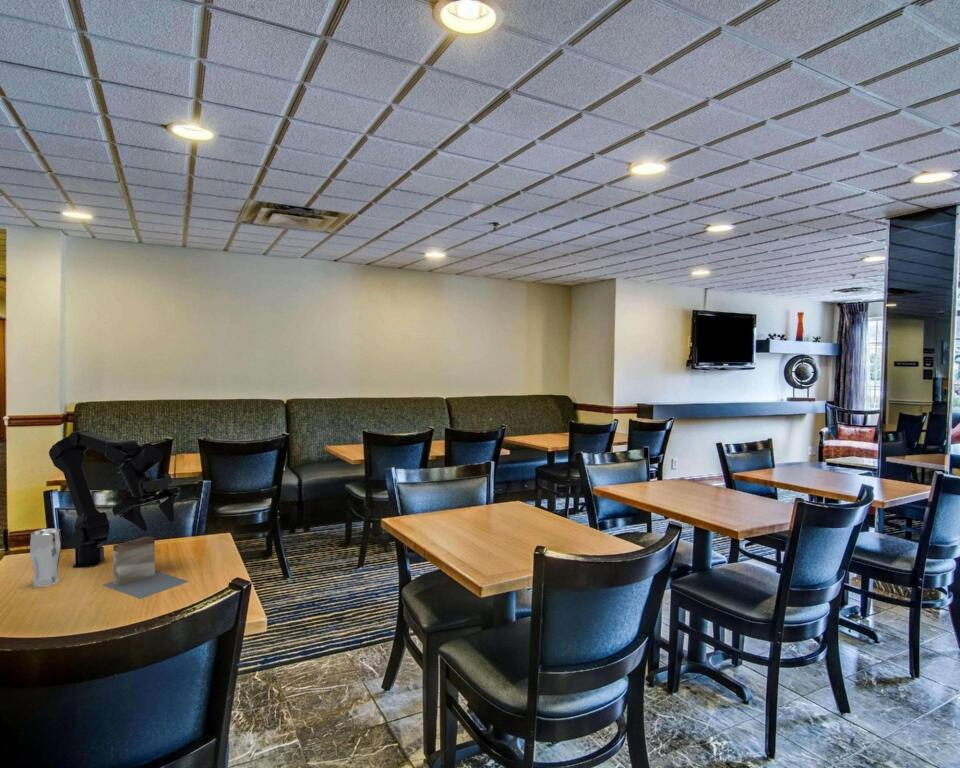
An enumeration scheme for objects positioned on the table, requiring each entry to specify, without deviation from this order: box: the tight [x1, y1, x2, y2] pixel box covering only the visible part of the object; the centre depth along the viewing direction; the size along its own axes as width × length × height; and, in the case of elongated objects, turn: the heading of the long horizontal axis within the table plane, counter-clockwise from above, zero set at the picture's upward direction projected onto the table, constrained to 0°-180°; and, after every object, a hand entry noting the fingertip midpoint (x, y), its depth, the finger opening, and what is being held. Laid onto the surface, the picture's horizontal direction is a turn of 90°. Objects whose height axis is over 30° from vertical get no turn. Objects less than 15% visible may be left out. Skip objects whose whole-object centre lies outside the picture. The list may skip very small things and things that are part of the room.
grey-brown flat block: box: [112, 535, 156, 586], centre depth 165 cm, size 3×10×11 cm, turn 151°
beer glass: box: [29, 527, 62, 588], centre depth 161 cm, size 7×7×15 cm
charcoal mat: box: [102, 570, 190, 600], centre depth 162 cm, size 18×14×1 cm
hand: (159, 526), depth 168 cm, fingers open, 9 cm apart
